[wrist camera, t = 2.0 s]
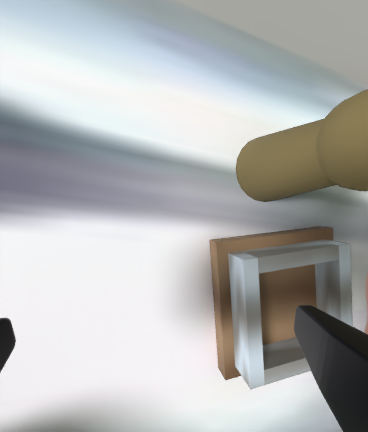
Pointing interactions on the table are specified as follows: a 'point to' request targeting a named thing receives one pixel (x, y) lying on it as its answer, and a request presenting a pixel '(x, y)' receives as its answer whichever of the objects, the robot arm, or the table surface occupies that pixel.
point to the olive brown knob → (309, 155)
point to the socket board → (274, 298)
